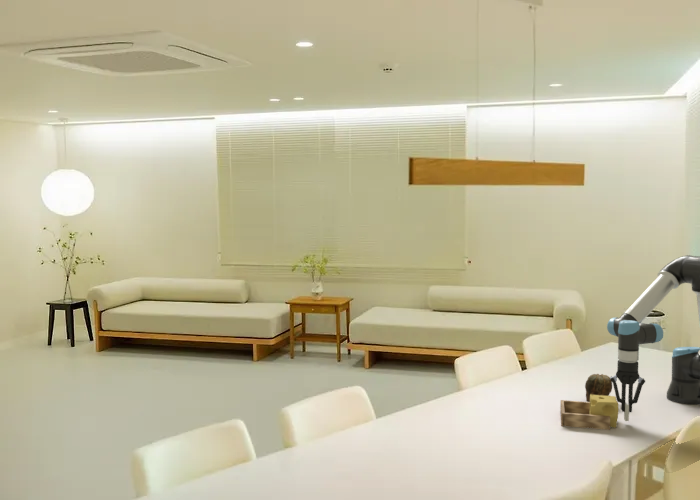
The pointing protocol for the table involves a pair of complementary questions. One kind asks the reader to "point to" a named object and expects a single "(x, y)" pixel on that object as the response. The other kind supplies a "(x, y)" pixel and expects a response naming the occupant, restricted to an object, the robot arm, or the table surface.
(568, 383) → the table surface
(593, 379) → the shell
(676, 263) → the robot arm
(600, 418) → the corral
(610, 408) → the cheese
